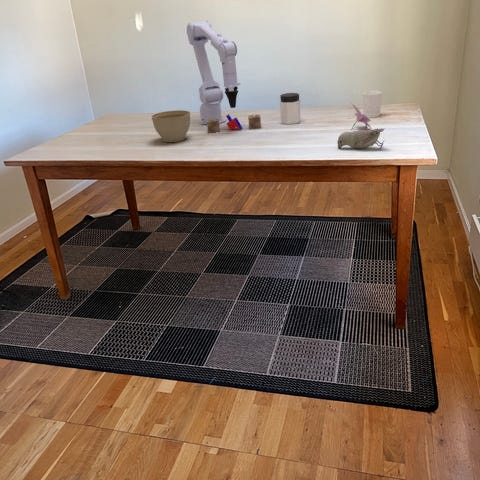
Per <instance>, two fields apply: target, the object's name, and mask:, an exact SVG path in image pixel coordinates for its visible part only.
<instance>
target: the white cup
mask: <svg viewBox="0 0 480 480" xmlns="http://www.w3.org/2000/svg"><path fill="white" fill-rule="evenodd" d="M382 95H383V91H379V90H371V91H364V92H362V107H363V114H364V115H366V116H367V117H368V118H369V119H372V118H379V117H380V114H381V105H382Z"/></svg>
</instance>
